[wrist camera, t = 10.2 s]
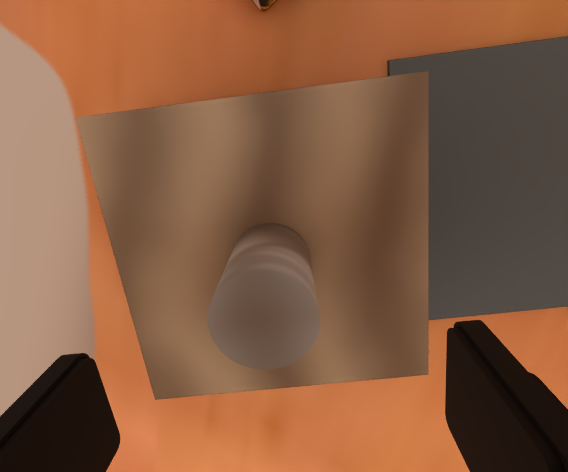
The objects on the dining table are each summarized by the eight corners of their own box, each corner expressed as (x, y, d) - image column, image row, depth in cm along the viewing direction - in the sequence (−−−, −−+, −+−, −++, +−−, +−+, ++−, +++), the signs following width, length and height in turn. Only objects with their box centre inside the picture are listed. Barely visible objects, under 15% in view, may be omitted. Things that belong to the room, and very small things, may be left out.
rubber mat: (698, 19, 22) (705, 18, 22) (642, 295, 28) (647, 298, 28) (387, 61, 23) (389, 60, 23) (395, 320, 29) (397, 323, 28)
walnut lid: (419, 74, 17) (508, 42, 10) (420, 361, 22) (482, 472, 15) (89, 117, 18) (-38, 116, 11) (161, 385, 22) (106, 502, 16)
